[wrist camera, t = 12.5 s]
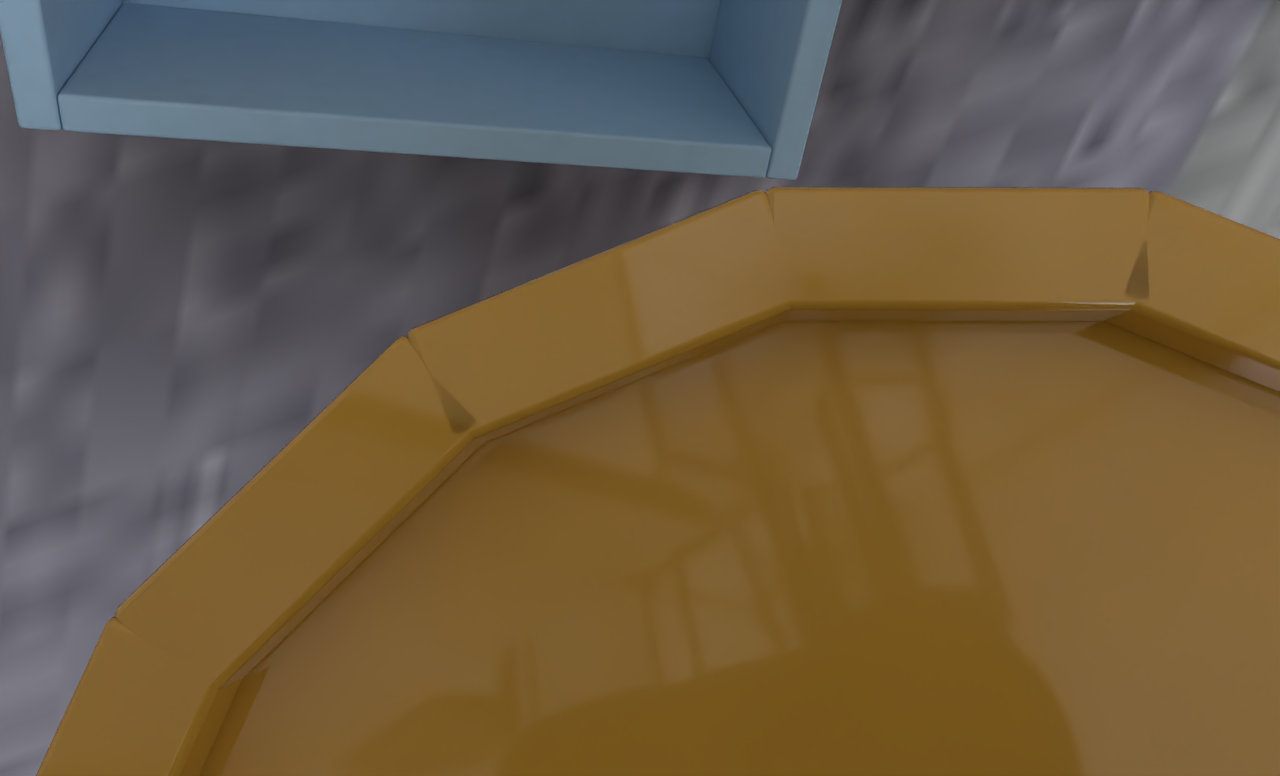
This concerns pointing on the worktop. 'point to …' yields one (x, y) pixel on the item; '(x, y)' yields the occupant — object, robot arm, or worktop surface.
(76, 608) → the worktop surface
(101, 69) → the bin
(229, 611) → the tall tapered cup
